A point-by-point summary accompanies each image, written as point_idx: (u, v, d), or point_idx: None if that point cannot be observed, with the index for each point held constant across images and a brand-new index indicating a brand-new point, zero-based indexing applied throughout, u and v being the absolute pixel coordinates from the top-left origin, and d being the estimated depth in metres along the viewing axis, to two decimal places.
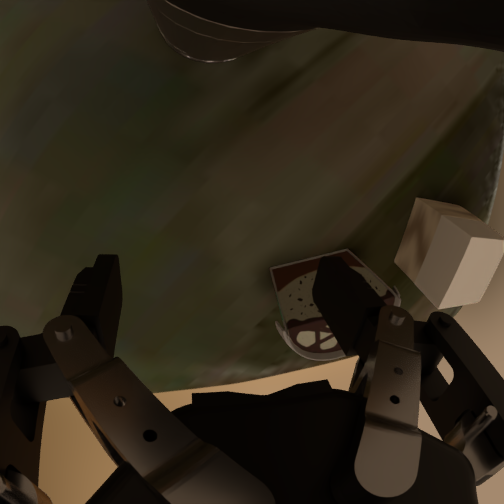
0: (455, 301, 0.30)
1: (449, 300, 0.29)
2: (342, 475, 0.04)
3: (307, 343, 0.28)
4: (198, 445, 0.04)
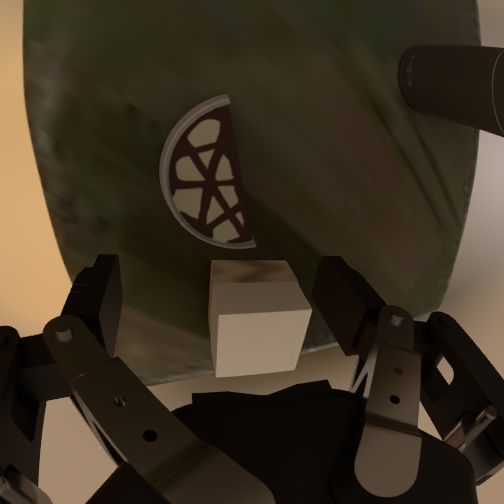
0: (226, 337, 0.29)
1: (229, 326, 0.29)
2: (342, 475, 0.04)
3: (194, 136, 0.21)
4: (198, 445, 0.04)
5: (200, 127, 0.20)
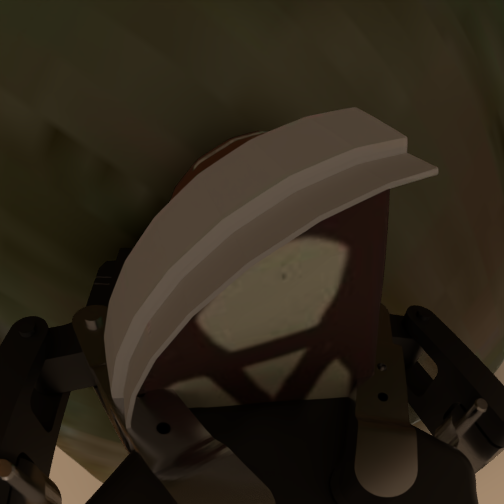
0: None
1: None
2: (342, 475, 0.04)
3: (228, 315, 0.05)
4: (209, 443, 0.04)
5: (258, 276, 0.04)
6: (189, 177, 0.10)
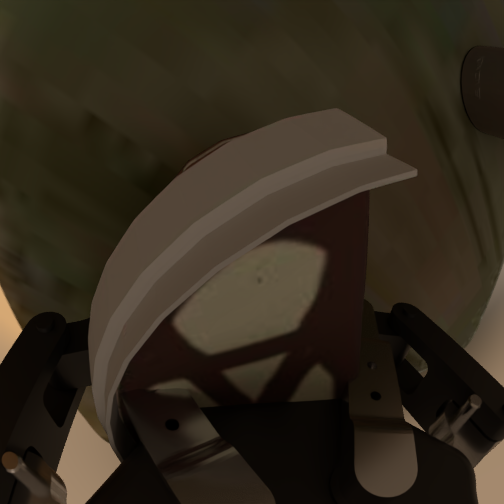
0: None
1: None
2: (342, 475, 0.04)
3: (204, 318, 0.05)
4: (217, 442, 0.04)
5: (233, 280, 0.04)
6: None
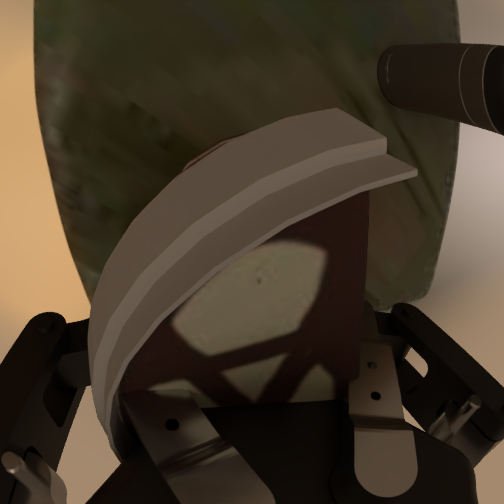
0: None
1: None
2: (342, 475, 0.04)
3: (204, 319, 0.05)
4: (217, 442, 0.04)
5: (232, 281, 0.04)
6: None
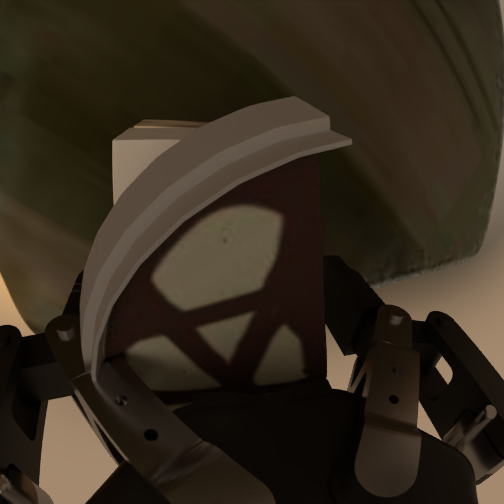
0: None
1: (135, 171, 0.13)
2: (342, 475, 0.04)
3: (179, 275, 0.05)
4: (199, 445, 0.04)
5: (202, 240, 0.05)
6: None
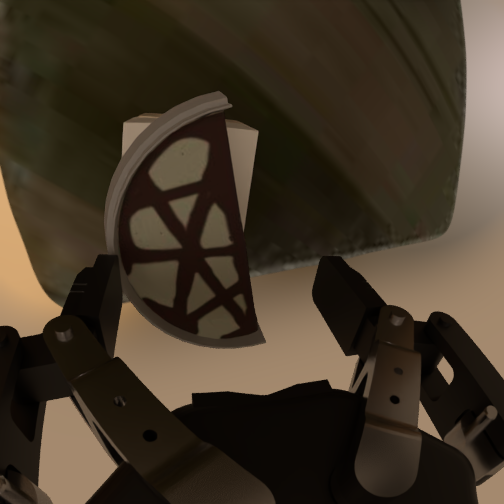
0: None
1: None
2: (342, 475, 0.04)
3: (161, 170, 0.11)
4: (198, 445, 0.04)
5: (172, 153, 0.11)
6: None
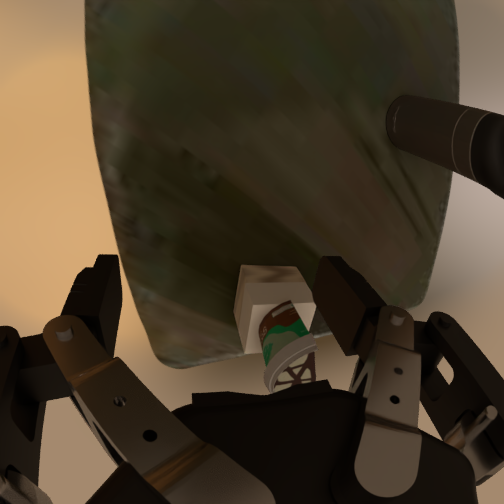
0: (256, 322, 0.41)
1: (259, 313, 0.40)
2: (342, 475, 0.04)
3: (291, 362, 0.33)
4: (198, 445, 0.04)
5: None
6: (273, 321, 0.39)
